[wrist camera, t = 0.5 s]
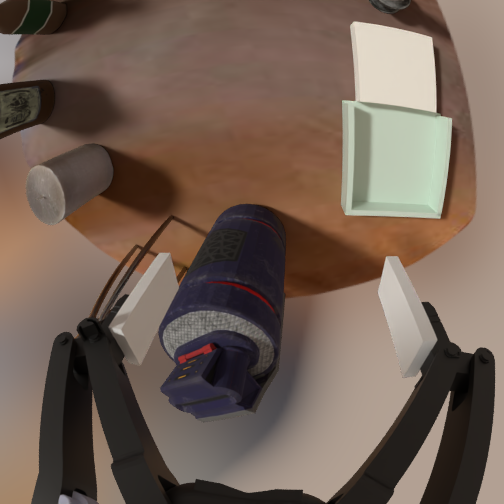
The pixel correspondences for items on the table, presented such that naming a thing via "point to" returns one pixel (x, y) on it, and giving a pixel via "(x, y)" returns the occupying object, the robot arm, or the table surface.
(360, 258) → the table surface
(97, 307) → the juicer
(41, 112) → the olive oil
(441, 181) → the box
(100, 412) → the robot arm
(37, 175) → the pillar candle
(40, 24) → the beer bottle
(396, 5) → the dark grey tall piece
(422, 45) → the white square slab
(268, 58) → the table surface
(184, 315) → the grenade
